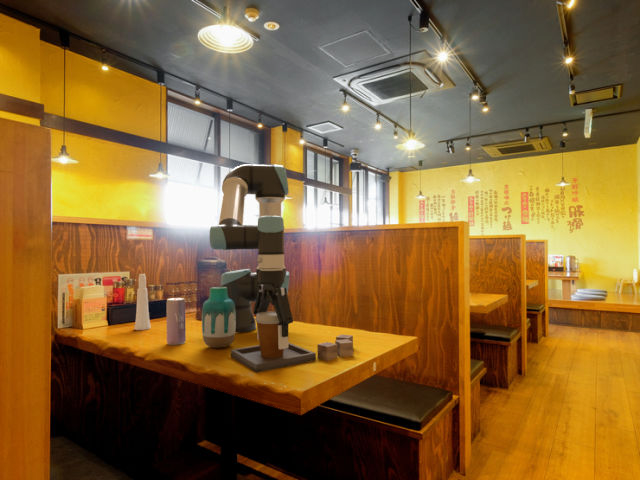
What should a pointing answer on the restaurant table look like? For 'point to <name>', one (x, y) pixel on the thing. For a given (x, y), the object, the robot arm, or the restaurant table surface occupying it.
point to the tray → (258, 363)
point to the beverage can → (176, 321)
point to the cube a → (327, 351)
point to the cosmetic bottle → (142, 306)
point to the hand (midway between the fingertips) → (272, 343)
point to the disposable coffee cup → (268, 334)
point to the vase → (218, 319)
